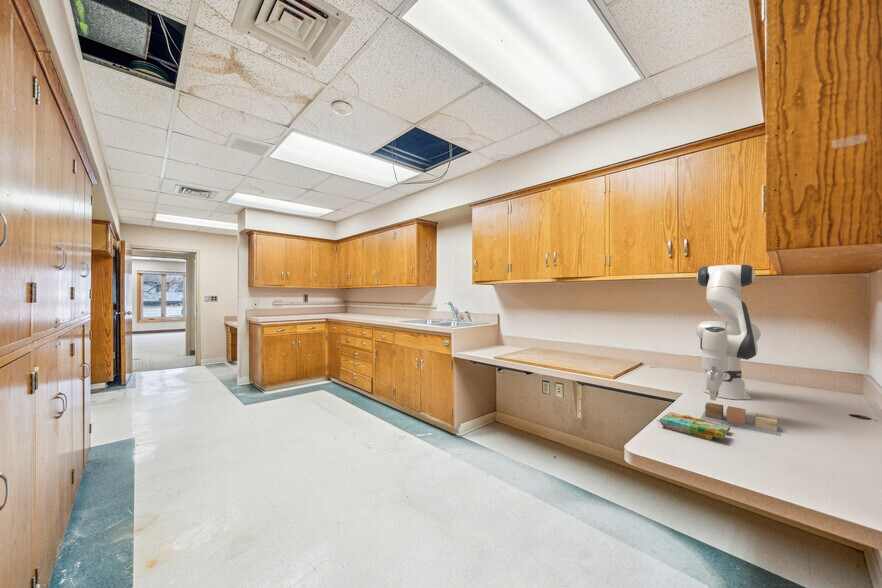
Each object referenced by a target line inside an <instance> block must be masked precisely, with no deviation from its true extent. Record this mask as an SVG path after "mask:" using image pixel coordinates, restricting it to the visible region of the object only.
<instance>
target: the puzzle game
mask: <svg viewBox="0 0 882 588" xmlns="http://www.w3.org/2000/svg"><path fill="white" fill-rule="evenodd" d="M659 423H660V424H661V425H662V427H663V428H664V427H666V428H665V429H667V428H670V429H669V430H671V429H674V430H673V431H675V430H677V431H676V432H679V431H681V432H680V433H682V432H684V433H683V434H686V433H688V434H687V435H690V434H691V436H694V435H695V436H694V437H697V436H698V438H701V437H702V439H705V438H706V440H709V441H711V440H712V439H713V438H718V439H723V438H725V437H726V435H727V434H728V433H729V432H730V430H731V426H730V425H725V424H721V423H716V422H711V421H706V420H702V419H700V418H696V417H693V416H691V415H690V414H689V415H688V414H681V413H677V412H673V411H669V412H668V413H666V414H664V415H662V417H661V418H659Z"/></svg>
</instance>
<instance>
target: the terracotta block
mask: <svg viewBox="0 0 882 588" xmlns="http://www.w3.org/2000/svg"><path fill="white" fill-rule="evenodd" d="M726 416H727V421H728V422H733V423H738V424H743V425H745V419H746V408H741V407H736V406H730V405H727V408H726Z"/></svg>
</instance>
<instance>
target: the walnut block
mask: <svg viewBox="0 0 882 588" xmlns="http://www.w3.org/2000/svg"><path fill="white" fill-rule="evenodd" d="M704 406H705V407H704V409H705V410H704V411H705V417H709V418H713V419H718V420H722V419H723V415H724V404H719V403H713V402H708V401H707V402H706V404H705V405H704Z"/></svg>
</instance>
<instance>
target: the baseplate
mask: <svg viewBox="0 0 882 588" xmlns="http://www.w3.org/2000/svg"><path fill="white" fill-rule="evenodd" d="M699 419H702V420H706V421H710V422H714V423H718V424H722V425H727V426H730V427H731V426H732V427H735V428H740V429H745V430H749V431H755V432H757V433H758V432H759V433H763V434H769V435H774V436H778V437H781V436H782V433H781V426H780V425H777V432H776V431H771V430H766V429H761V428H756V420H755V421H754V420H751V419H746V418H745V425H743V424H738V423H733V422H728V421H727V414H725V415H724V414H723V419H722V420H718V419H713V418H709V417H705V410H704V411H703V413H702V415H701V416H700V418H699Z"/></svg>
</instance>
